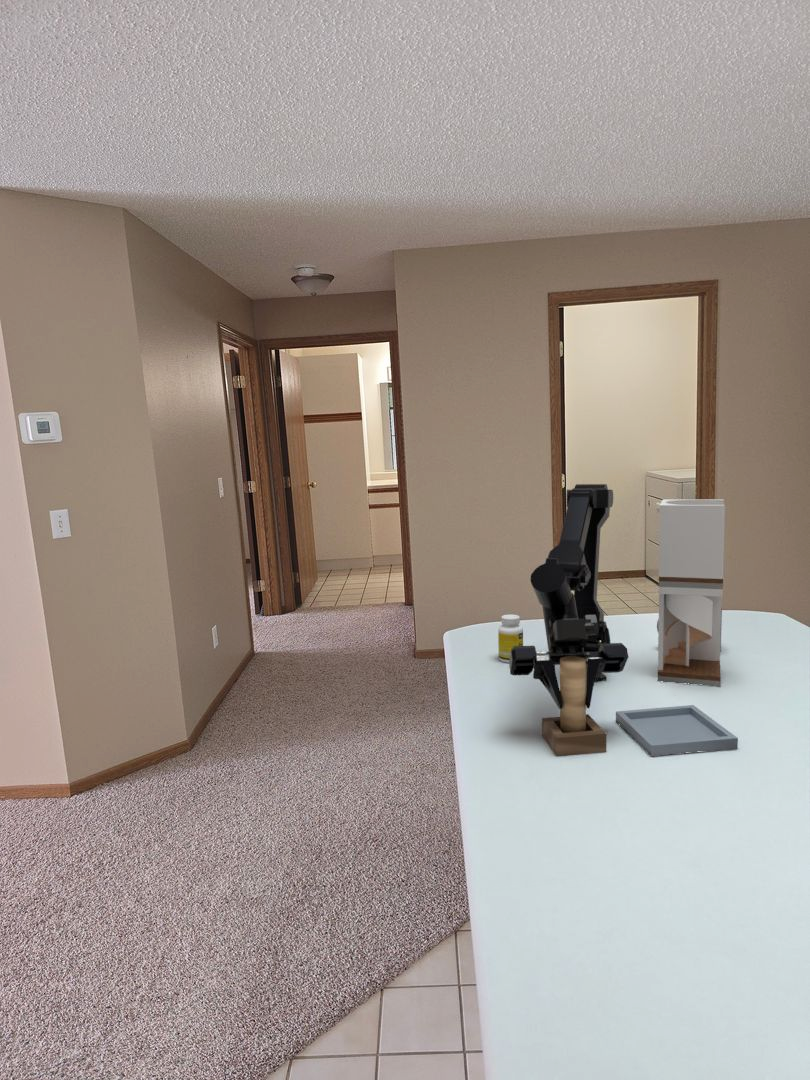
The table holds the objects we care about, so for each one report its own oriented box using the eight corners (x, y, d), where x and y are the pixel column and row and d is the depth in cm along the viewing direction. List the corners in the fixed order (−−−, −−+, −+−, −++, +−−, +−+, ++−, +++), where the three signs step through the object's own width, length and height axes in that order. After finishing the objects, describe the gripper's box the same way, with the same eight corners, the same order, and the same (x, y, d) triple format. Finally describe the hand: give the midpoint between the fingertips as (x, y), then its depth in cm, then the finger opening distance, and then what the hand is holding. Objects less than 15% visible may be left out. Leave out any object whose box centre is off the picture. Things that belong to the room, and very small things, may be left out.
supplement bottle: (522, 663, 159) (522, 620, 158) (497, 663, 160) (496, 619, 159) (524, 656, 164) (523, 613, 163) (499, 655, 165) (498, 613, 164)
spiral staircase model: (657, 681, 145) (659, 505, 140) (660, 664, 155) (662, 499, 150) (720, 687, 141) (725, 505, 136) (719, 669, 151) (723, 499, 145)
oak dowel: (557, 739, 121) (556, 657, 119) (580, 737, 121) (580, 655, 119) (565, 749, 117) (564, 664, 115) (589, 747, 117) (589, 662, 115)
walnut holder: (541, 735, 122) (541, 718, 122) (588, 731, 123) (588, 714, 123) (556, 756, 115) (556, 737, 114) (606, 751, 115) (606, 733, 115)
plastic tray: (615, 721, 127) (615, 711, 127) (693, 714, 128) (693, 705, 128) (651, 756, 113) (651, 745, 113) (737, 748, 114) (737, 738, 114)
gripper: (509, 598, 120) (519, 687, 110) (625, 595, 119) (644, 684, 110) (505, 632, 129) (514, 717, 119) (613, 629, 128) (630, 713, 119)
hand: (574, 707), depth 117 cm, fingers closed on oak dowel, 4 cm apart
